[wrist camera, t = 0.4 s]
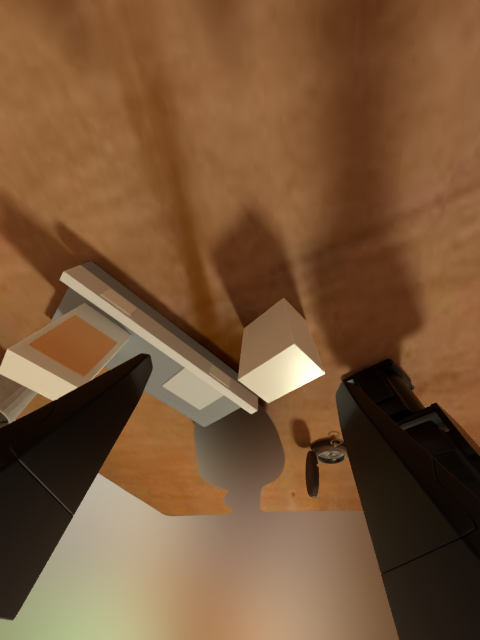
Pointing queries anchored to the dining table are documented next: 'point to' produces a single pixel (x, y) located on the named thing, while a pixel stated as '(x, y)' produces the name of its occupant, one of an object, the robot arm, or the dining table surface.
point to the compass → (326, 454)
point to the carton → (278, 353)
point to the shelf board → (159, 349)
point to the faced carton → (64, 352)
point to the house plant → (12, 399)
